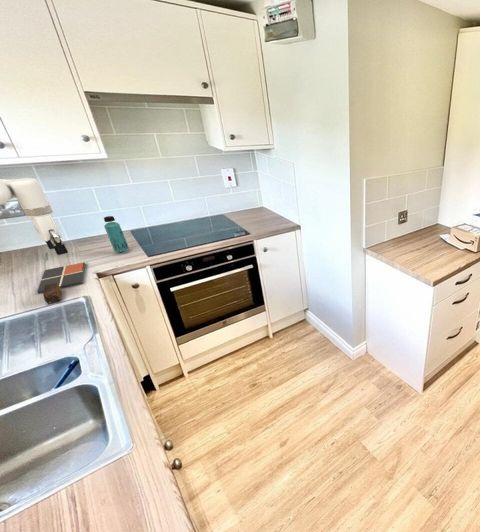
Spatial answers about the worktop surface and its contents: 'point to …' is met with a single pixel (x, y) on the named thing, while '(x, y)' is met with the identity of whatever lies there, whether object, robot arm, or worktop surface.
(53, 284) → the brick
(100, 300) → the worktop surface
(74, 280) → the board
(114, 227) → the beverage bottle
